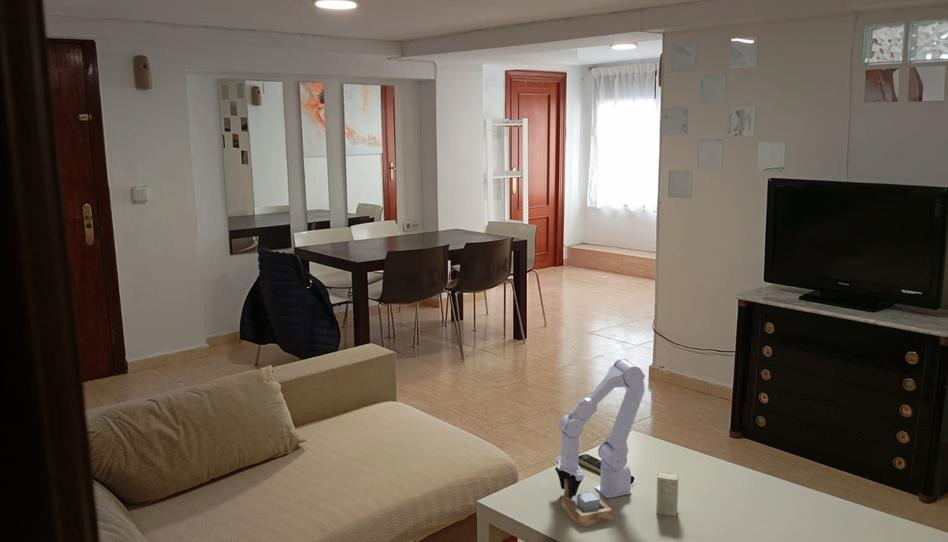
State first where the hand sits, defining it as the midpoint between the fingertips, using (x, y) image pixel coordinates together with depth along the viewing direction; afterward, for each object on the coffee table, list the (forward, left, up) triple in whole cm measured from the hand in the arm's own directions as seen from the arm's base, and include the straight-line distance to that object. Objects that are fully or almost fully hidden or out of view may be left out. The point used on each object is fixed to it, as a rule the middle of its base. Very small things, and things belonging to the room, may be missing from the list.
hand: (568, 492), depth 247 cm
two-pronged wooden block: (0, +11, -2) cm, 11 cm away
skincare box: (-24, +20, -2) cm, 31 cm away
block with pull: (0, +7, -2) cm, 7 cm away
